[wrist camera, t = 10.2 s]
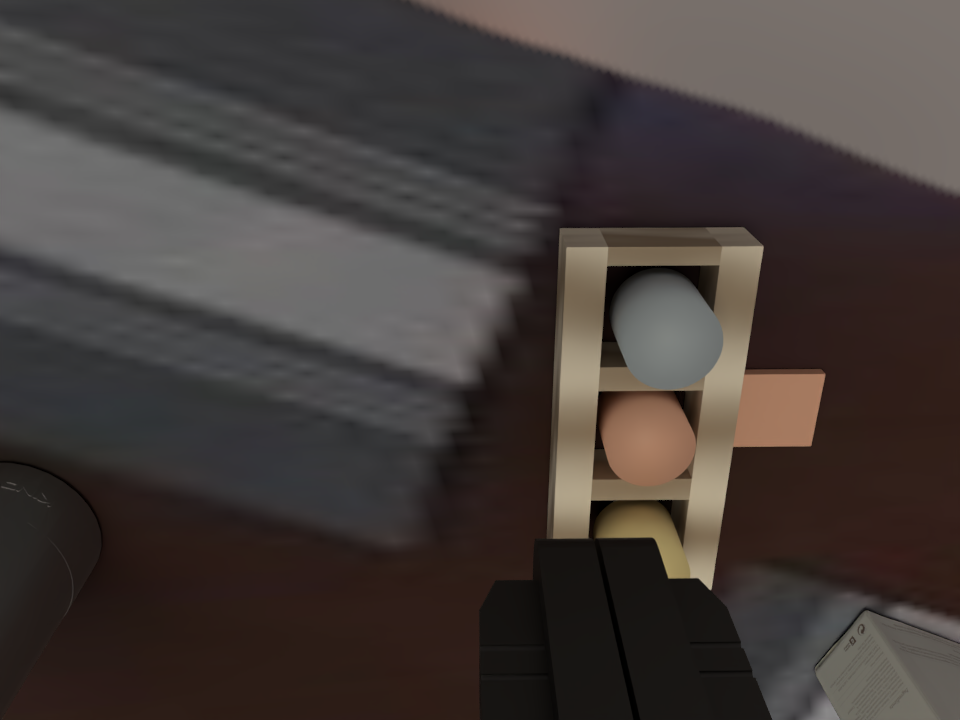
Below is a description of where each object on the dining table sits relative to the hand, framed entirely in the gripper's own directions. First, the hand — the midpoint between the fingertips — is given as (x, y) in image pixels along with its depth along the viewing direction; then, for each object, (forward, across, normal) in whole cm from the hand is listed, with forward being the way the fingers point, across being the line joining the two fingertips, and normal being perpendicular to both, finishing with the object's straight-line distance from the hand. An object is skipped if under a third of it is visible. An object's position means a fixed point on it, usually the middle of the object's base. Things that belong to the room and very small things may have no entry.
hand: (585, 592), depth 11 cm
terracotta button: (+31, -7, +14) cm, 35 cm away
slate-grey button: (+29, -7, +8) cm, 31 cm away
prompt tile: (+31, -15, +14) cm, 37 cm away
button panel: (+31, -8, +14) cm, 35 cm away
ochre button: (+29, -7, +21) cm, 36 cm away
